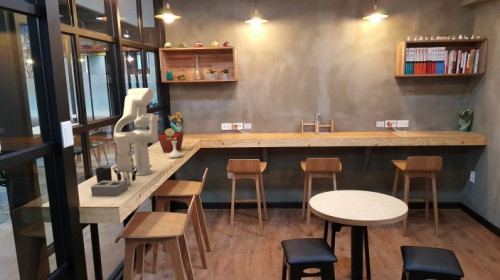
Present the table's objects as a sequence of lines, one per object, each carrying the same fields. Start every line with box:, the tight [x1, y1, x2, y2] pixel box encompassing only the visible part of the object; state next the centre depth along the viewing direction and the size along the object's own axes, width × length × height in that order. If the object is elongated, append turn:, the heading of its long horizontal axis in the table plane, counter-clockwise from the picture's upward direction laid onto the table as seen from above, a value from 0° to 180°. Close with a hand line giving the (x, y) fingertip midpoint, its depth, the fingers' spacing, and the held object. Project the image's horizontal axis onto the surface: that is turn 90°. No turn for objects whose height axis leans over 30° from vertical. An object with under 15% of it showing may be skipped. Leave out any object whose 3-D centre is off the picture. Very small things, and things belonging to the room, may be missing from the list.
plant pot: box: [157, 131, 184, 153], centre depth 313 cm, size 19×19×17 cm
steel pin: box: [122, 172, 132, 188], centre depth 214 cm, size 4×4×11 cm
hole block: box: [90, 180, 129, 197], centre depth 202 cm, size 12×16×6 cm
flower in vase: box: [164, 128, 183, 159], centre depth 287 cm, size 13×11×25 cm
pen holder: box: [94, 166, 113, 184], centre depth 221 cm, size 9×9×10 cm
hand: (126, 180), depth 214 cm, fingers open, 9 cm apart
